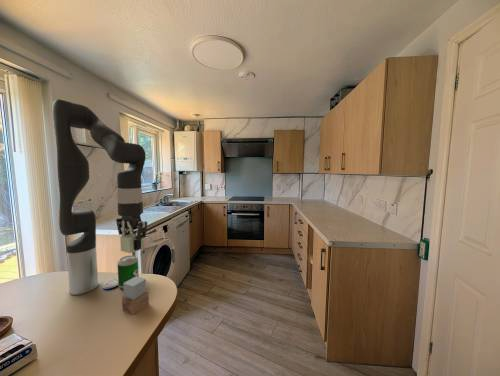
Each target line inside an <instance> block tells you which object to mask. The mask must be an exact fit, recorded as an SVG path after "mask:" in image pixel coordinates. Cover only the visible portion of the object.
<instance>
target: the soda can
mask: <svg viewBox="0 0 500 376" xmlns="http://www.w3.org/2000/svg"><path fill="white" fill-rule="evenodd" d="M117 276H118V277H117V279H118V281H117V282H118V283H117V284H118V287H119V288H121V289H123V290H124V286H123V283H124V282H126V281H128V280H130V279H132V278H134V277H136V276H137V277H140V276H139V259H138V257H137V256H135V255H126V256H122V257H120V258H119V260H118V261H117Z"/></svg>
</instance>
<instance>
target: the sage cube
mask: <svg viewBox="0 0 500 376" xmlns="http://www.w3.org/2000/svg"><path fill="white" fill-rule="evenodd" d="M136 236H137V233H136ZM119 239H120V241H119V242H120V251H121V252H123V253H128V254H132V253H135V252H137V251H140V250H143V249H144V238H141V249H139V250H137V251H135V250H134V239H133V235H132V234H128V235H125V236H122V235H120V237H119Z"/></svg>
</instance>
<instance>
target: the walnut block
mask: <svg viewBox="0 0 500 376" xmlns="http://www.w3.org/2000/svg"><path fill="white" fill-rule="evenodd" d="M149 297H150V296H149V291H147V290H146V292H145V293H144V294H142V295H141V296H139V297H138V298H136V299H135V300H132V299H130V298H127V297H124V295H123V296H121V307H122V311H124V312H126V313H128V314H131V315H132V316H134V315H136V314H138V313H139V312H141V311H142V310H143V309H144V308H146V307H147V306H149V305H150V301H149V300H150V298H149Z"/></svg>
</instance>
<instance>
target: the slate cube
mask: <svg viewBox="0 0 500 376" xmlns="http://www.w3.org/2000/svg"><path fill="white" fill-rule="evenodd" d="M123 286H124V289H123V296H124V297H127V298H130V299H132V300H135V299H136V298H138V297H139V296H141V295H142V294H144V293H145V292H146V291H147V280H146V278H143V277H140V276H139V277H137V276H136V277H134V278H132V279H130V280H128V281H126V282H124V283H123Z"/></svg>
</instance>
